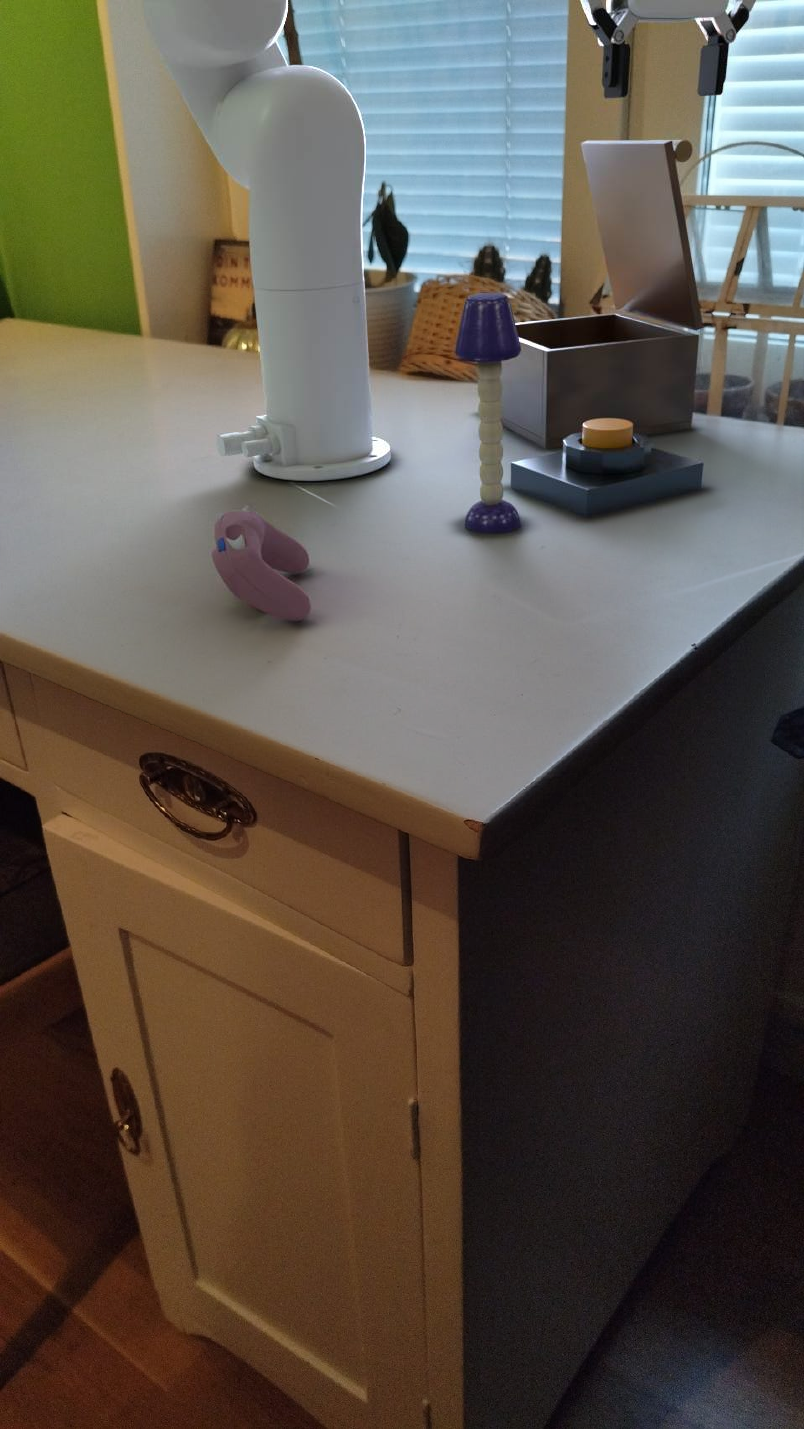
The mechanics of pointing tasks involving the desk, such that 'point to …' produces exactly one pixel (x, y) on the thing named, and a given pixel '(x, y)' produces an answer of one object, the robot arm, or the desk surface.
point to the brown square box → (598, 376)
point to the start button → (607, 433)
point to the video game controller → (260, 564)
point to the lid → (644, 227)
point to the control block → (605, 476)
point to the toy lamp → (489, 401)
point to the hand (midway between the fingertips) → (663, 96)
